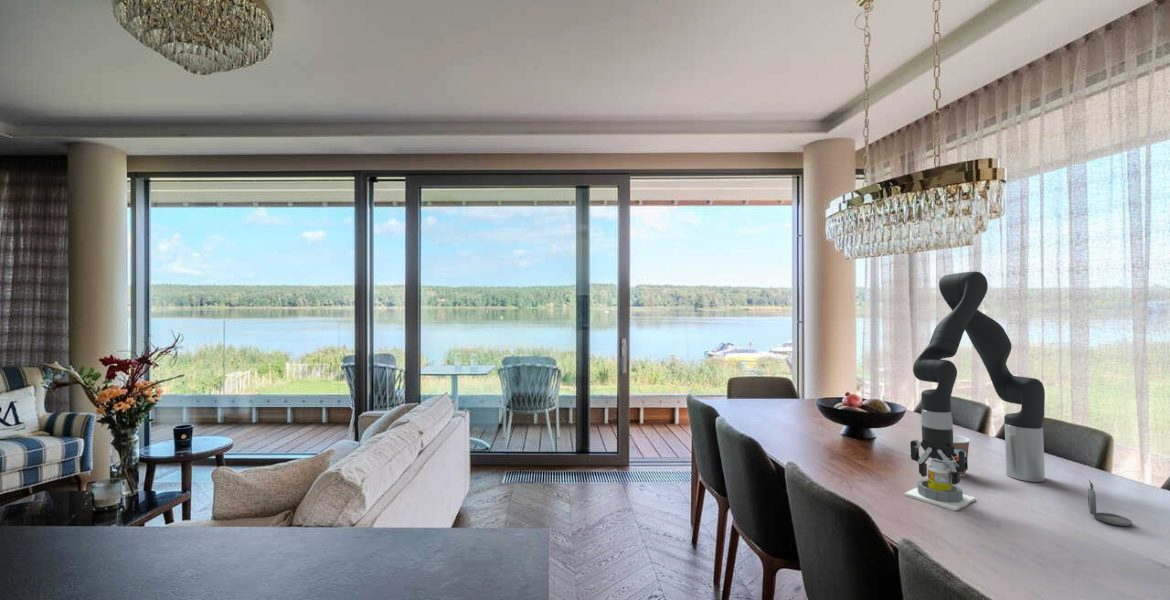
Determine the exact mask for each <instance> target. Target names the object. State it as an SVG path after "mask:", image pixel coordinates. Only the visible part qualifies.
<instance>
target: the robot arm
mask: <svg viewBox="0 0 1170 600" xmlns="http://www.w3.org/2000/svg"><path fill="white" fill-rule="evenodd" d="M938 288H939V292H940V294H941V296H942V298H943V299H944V301H945V303H946V304H947V305H948V307H949V308H950V309H951V312H949V313H948V314H947V315H946V316H945V317H944V318H943V319H941V320H940V321H939V323H938V324H936V326H935V328H934V330H933V332H932V335H931V338H930V340H929V343H928V345H927V346H926V347H925V348H924V350H923V351H922V352H921V353H920V354H919V356H918V357H916V359H915V361H914V363H913V367H912V372H913V376H914V377H915V378H916V379H917V380H918V381H923V382H928V383H937V387H936V388H935V389H934V388H933V389H930V388H929V389H924V390H922V392H921V395H920V397H921V398H920V399H921V415H920V423H921V424H920V425H921V439H922V440H921V441H919V440H918V439H914V440H913V439H912V440H910V441H909V442H910V443H909V445H910V459H911V460H912V461H915V462H917V464H918V473H919V474H920V476H921V477H923V478H925V477H928V465H927V463H926V462H927V461H928V460H929V459H938V460H941V461H945V463H946V464H947V465H948V466H949V467H950V468H951V470H952V472H951V482H952V484H954V485H956V486H957V485H958V484H959V483H961V476H960V472H964V471H966V472H967V471H968V469H969V465H968V464H969V463H968V458H967V451H966V450H958V449H955V448H954V446H953V435H954V431H953V430H954V427H953V416H952V403H951V402H952V401H951V398H952V392H953V389H954V385H955V383H956V380H957V377H958V369H957V366H956V365H955V364H954V363H953V362H952V361H951V360H948V359H950V358H953V357H954V356H955V355H957V352H958V349H959V346H960V343H961V340H962V339H963V335H964V333H966V335H967V336H968V338H969V341H970V342H971V344H972V346H973V347H974V349H975V351H976V353H977V354H978V355H979V357H980V360H981V361H982V363H983V365H984V367H985V370H986V371H987V373H988V376H989V379H990V381H991V383H992V387H993V388H994V391H995V392H996V395H997V396H998V397H999V398H1000V399H1001V400H1002V401H1004V402H1006V403H1010V404H1014V405H1021V409H1020V411H1019V412H1014V413H1013V412H1012V413H1006V414H1005V415H1004V417H1003V422H1004V442H1005V446H1004V447H1005V467H1006V475H1007V476H1008V477H1011V478H1013V479H1016V480H1021V481H1024V482H1025V481H1026V482H1033V483H1042V482H1045V481H1046V474H1045V473H1046V471H1045V450H1044V449H1045V447H1044V446H1045V445H1044V444H1045V443H1044V427H1043V423H1044V420H1045V400H1046V399H1045V398H1046V392H1045V387H1044V384H1043V382H1041V381H1040V379H1038V378H1035V377H1029V376H1027V377H1026V376H1018V375H1013V374H1012V373H1011V371H1010V369H1009V368H1008V365H1007V361H1008V359H1009V357H1010V354H1011V351H1012V341H1011V340H1010V338H1009V336H1008V334H1007V332H1006V330H1005V329H1004V327H1003V325H1001V324H1000V323H999V322H997V321H996V320H994V319H993V318H991V317H990V316H988V315H987V314H985V313H983V312H981V311H980V310H979V307H980V305H981V304H982V302H983V301H984V299H985V297H986V295H987V292H988V288H989V284H988V278H986V276H985V275H984V273H982V272H980V271H977V270H976V271H973V270H972V271H964V272H963V271H962V272H955V273H950V274H945V275H943V276H942V277H940V278H939V281H938ZM920 448H922V450H923V451H924V452H923V453H922V455H920ZM954 453H956V455H957V457H959V466H958V465H957V463H956V460H955V459H954V457H953V456H952V455H953V454H954Z"/></svg>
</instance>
